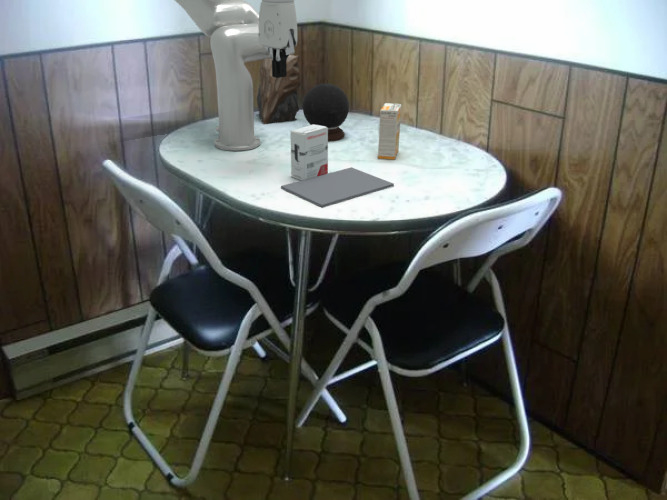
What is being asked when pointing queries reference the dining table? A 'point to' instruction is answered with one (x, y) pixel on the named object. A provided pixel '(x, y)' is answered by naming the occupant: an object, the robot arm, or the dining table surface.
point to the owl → (278, 92)
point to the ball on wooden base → (327, 109)
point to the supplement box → (389, 131)
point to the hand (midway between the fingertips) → (279, 76)
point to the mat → (336, 186)
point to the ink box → (309, 152)
